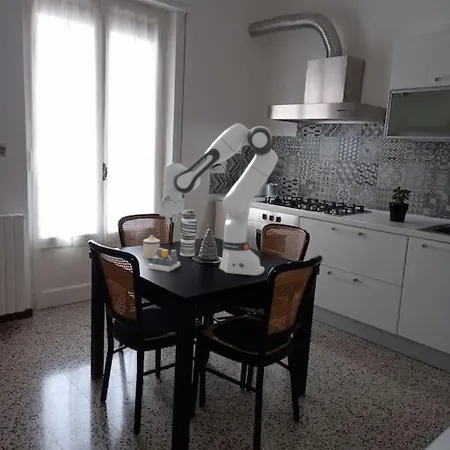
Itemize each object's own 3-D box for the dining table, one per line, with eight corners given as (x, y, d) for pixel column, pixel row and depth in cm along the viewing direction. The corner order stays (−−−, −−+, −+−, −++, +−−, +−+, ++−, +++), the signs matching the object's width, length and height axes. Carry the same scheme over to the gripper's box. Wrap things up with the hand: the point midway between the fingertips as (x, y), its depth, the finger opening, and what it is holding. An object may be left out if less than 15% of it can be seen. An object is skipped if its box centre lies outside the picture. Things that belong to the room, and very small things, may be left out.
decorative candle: (197, 252, 250) (198, 209, 245) (194, 256, 240) (196, 211, 236) (181, 251, 250) (182, 208, 246) (178, 255, 241) (179, 210, 237)
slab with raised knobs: (179, 265, 222) (180, 249, 220) (168, 271, 211) (169, 254, 209) (160, 262, 226) (160, 246, 224) (148, 268, 215) (148, 251, 213)
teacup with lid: (159, 259, 232) (160, 237, 230) (142, 259, 231) (142, 237, 229) (159, 253, 244) (160, 233, 242) (143, 253, 243) (143, 232, 241)
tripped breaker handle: (168, 256, 218) (168, 249, 217) (165, 257, 216) (166, 250, 215) (163, 255, 219) (163, 249, 218) (161, 257, 217) (161, 250, 216)
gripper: (168, 198, 207) (167, 227, 210) (186, 194, 226) (185, 220, 229) (156, 197, 209) (155, 225, 212) (175, 193, 228) (174, 219, 231)
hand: (171, 223), depth 220 cm, fingers open, 5 cm apart
